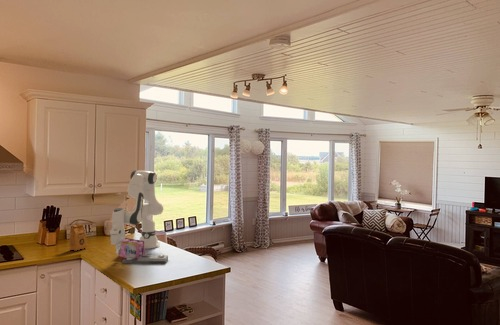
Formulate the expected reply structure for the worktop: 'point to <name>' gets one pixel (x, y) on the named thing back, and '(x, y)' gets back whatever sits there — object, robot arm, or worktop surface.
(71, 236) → the coffee package
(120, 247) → the pin
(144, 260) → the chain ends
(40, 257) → the worktop surface
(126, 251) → the gum box
